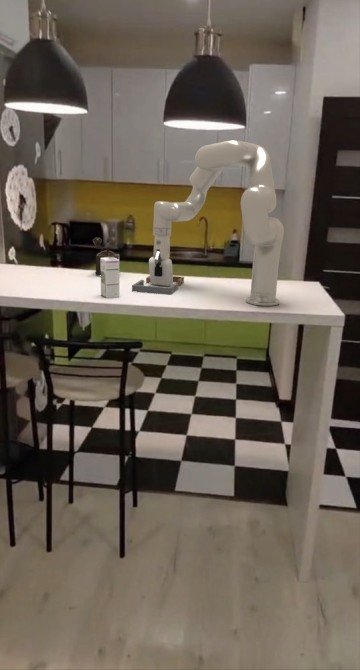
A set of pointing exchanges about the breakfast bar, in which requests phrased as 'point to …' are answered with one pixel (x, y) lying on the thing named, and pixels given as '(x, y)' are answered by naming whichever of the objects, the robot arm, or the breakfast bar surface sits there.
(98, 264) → the twin bell alarm clock
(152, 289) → the bay
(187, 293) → the breakfast bar surface
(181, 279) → the dock
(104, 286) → the syrup box
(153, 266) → the photo printer
